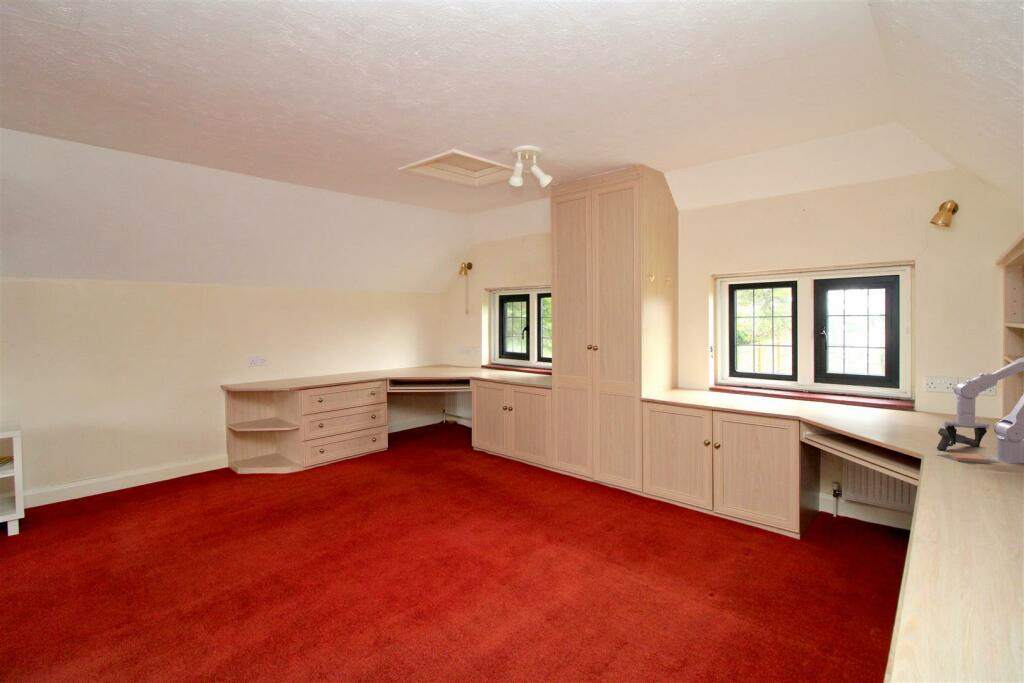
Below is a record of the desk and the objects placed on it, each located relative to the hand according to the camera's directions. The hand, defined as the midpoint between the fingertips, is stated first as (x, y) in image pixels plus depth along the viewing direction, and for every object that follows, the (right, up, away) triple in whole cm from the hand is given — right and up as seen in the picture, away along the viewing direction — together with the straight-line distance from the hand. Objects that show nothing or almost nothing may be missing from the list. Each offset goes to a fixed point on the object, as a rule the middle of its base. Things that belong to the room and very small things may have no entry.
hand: (965, 444), depth 210 cm
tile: (+1, -5, +1) cm, 5 cm away
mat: (0, -6, -1) cm, 6 cm away
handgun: (+11, -5, +16) cm, 20 cm away
